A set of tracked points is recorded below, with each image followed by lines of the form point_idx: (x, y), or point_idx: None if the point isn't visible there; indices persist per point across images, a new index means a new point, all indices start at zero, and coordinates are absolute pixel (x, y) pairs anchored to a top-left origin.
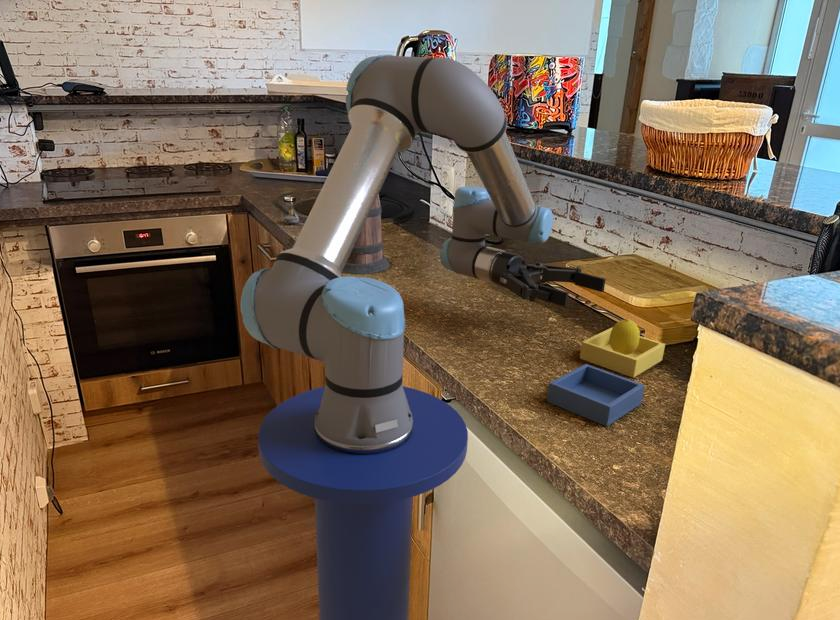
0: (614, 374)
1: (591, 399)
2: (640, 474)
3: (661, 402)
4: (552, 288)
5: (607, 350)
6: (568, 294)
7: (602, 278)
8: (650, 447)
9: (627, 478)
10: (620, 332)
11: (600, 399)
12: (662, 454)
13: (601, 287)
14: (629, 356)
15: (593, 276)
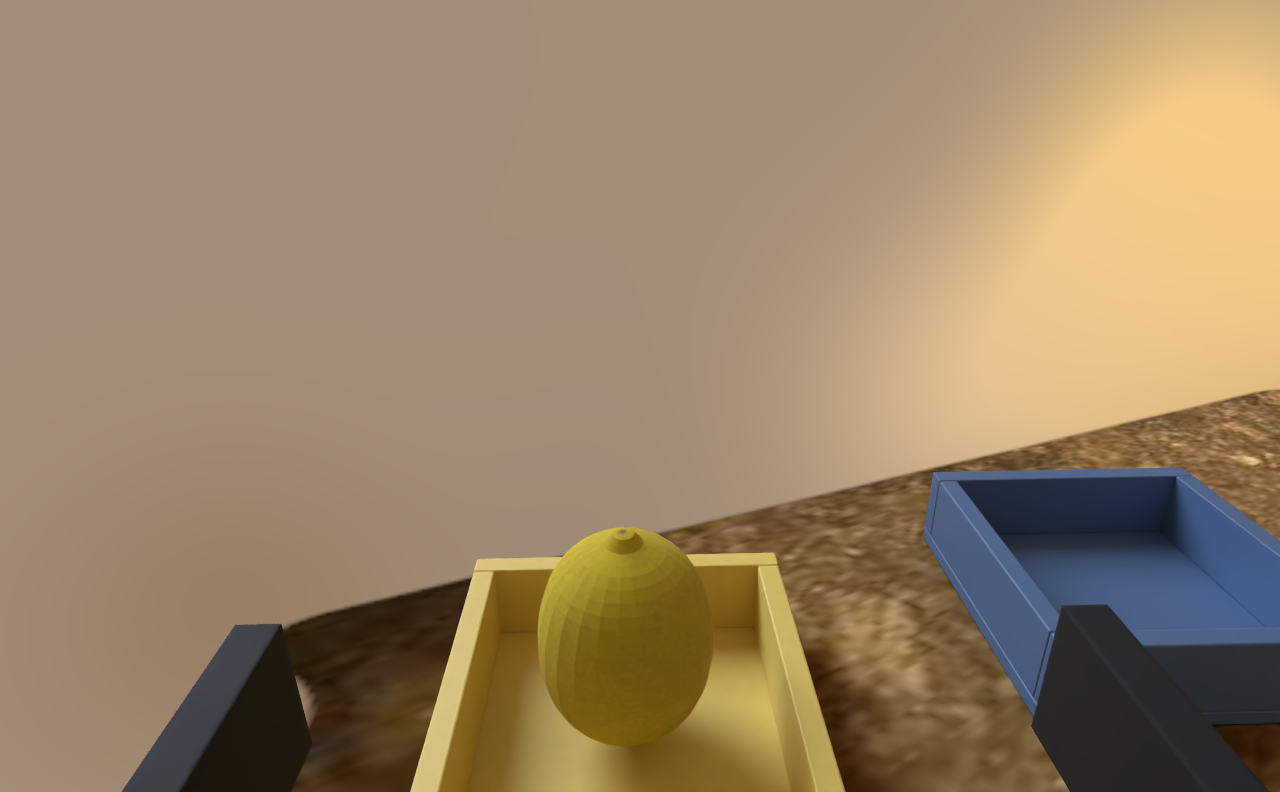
0: (989, 542)
1: (1233, 506)
2: (1193, 433)
3: (845, 515)
4: (1233, 786)
5: (806, 664)
6: (1059, 623)
7: (237, 650)
8: (1085, 455)
9: (1240, 438)
10: (701, 586)
11: (1086, 592)
12: (1073, 437)
13: (297, 715)
14: (766, 581)
15: (194, 749)
